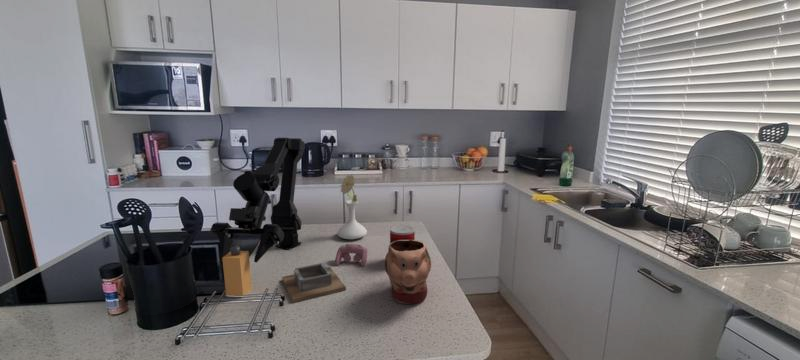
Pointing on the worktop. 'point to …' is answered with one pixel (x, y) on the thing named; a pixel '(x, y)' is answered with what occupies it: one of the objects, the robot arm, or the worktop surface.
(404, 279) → the decorative planter
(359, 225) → the flower in vase
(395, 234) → the canned food
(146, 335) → the worktop surface
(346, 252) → the video game controller
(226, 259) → the plug
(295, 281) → the holder
